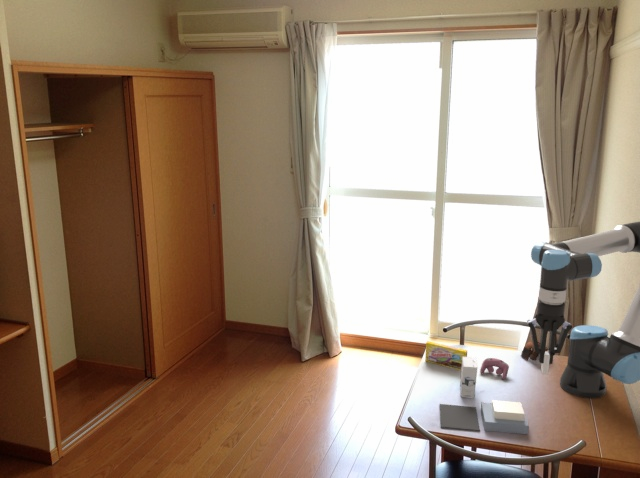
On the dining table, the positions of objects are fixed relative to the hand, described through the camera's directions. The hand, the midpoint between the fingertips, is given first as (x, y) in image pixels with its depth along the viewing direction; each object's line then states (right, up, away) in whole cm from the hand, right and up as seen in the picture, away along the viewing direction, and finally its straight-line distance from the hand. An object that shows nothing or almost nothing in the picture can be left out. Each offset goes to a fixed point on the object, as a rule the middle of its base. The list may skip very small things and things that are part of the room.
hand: (544, 372), depth 179 cm
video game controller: (-4, -10, +38) cm, 40 cm away
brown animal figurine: (+16, -7, +51) cm, 54 cm away
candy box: (-21, -8, +46) cm, 51 cm away
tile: (-10, -15, +5) cm, 18 cm away
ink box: (-18, -13, +25) cm, 33 cm away
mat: (-25, -17, +9) cm, 31 cm away
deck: (-11, -17, +6) cm, 21 cm away
